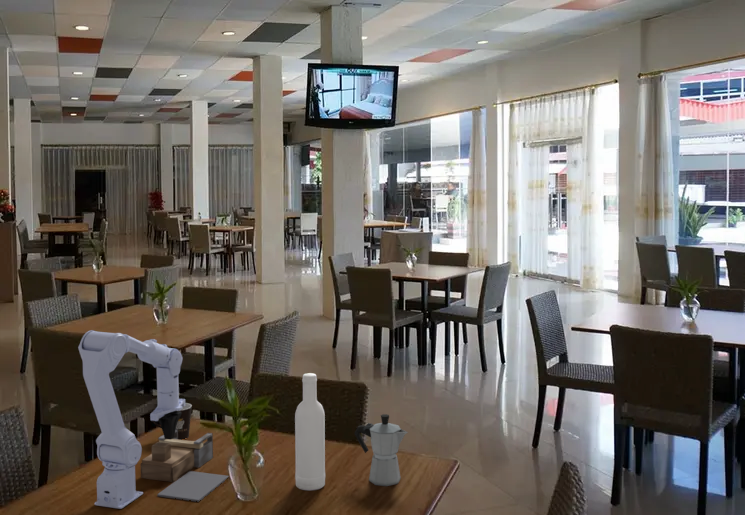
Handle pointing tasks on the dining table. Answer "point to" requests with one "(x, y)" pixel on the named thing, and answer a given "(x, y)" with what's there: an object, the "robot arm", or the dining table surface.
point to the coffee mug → (183, 422)
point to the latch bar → (182, 443)
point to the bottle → (310, 438)
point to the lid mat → (193, 486)
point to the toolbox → (182, 467)
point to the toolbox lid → (167, 454)
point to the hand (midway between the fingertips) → (169, 438)
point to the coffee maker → (383, 450)
